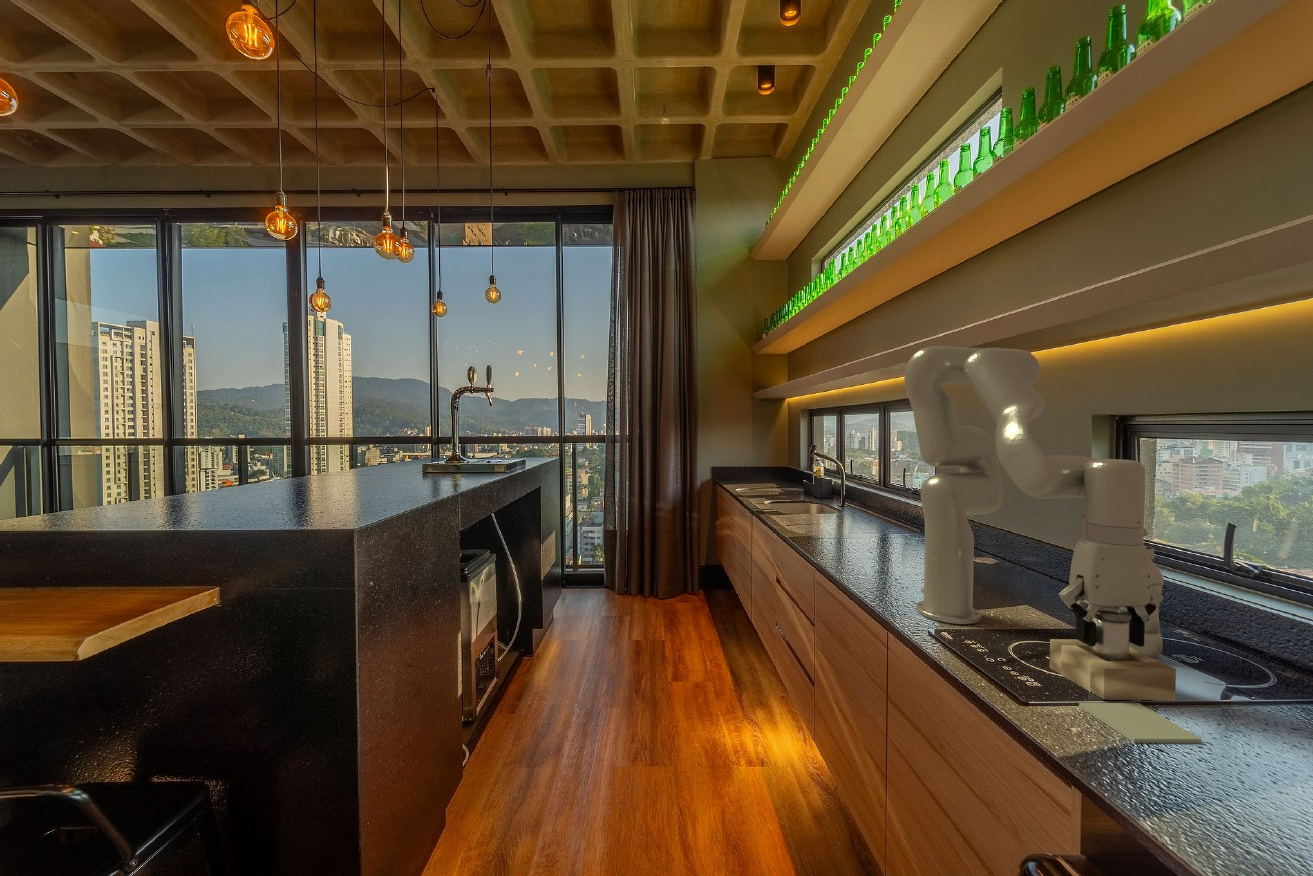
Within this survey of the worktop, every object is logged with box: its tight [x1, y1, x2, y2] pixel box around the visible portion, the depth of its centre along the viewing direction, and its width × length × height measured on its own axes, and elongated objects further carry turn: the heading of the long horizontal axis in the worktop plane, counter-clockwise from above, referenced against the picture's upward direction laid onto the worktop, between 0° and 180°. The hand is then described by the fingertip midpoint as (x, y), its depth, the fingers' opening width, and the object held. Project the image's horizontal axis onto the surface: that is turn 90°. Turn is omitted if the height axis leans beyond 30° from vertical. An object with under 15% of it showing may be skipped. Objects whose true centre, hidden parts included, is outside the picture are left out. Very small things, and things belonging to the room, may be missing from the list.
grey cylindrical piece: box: [1090, 606, 1132, 662], centre depth 85 cm, size 5×5×12 cm
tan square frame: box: [1048, 638, 1177, 702], centre depth 85 cm, size 11×11×5 cm
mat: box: [1078, 702, 1202, 744], centre depth 74 cm, size 9×9×1 cm
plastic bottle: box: [1118, 545, 1164, 658], centre depth 96 cm, size 6×7×20 cm
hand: (1109, 642), depth 85 cm, fingers open, 7 cm apart
